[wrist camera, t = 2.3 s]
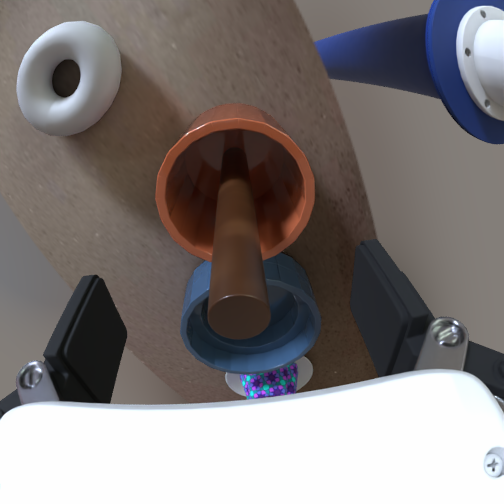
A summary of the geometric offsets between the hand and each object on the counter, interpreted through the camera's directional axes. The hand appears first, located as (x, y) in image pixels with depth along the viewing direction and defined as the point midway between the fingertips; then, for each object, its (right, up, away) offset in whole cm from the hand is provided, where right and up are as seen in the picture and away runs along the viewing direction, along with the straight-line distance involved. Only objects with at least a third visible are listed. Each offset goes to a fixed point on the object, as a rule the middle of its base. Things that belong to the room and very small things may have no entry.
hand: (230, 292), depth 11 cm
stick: (-1, +9, +14) cm, 17 cm away
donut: (-14, +16, +9) cm, 23 cm away
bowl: (0, -3, +22) cm, 23 cm away
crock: (-1, +9, +14) cm, 17 cm away
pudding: (+3, -15, +30) cm, 34 cm away
